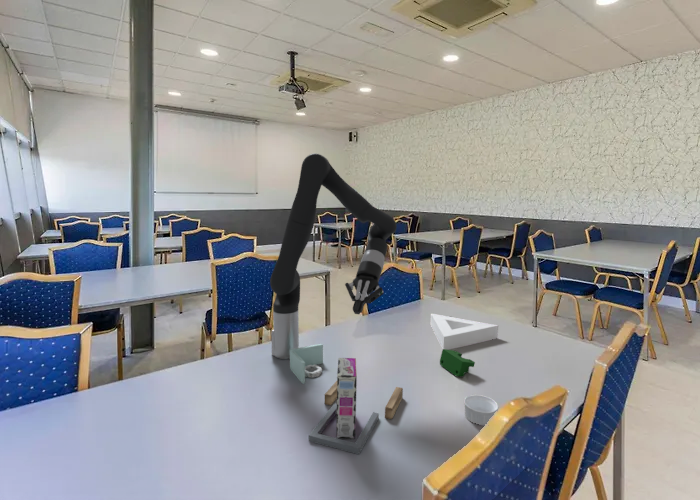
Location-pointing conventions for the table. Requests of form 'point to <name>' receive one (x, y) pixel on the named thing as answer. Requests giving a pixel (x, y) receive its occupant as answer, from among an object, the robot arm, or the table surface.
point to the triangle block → (461, 331)
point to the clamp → (455, 362)
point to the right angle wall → (306, 361)
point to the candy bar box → (346, 398)
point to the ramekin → (479, 408)
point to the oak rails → (389, 409)
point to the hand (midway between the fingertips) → (356, 312)
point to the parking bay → (338, 443)
